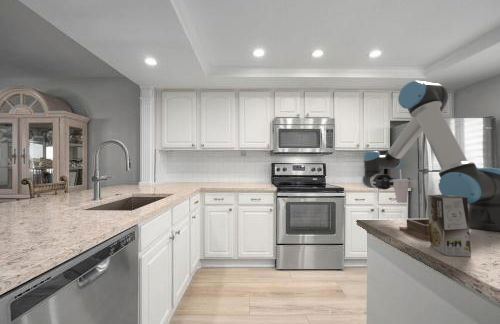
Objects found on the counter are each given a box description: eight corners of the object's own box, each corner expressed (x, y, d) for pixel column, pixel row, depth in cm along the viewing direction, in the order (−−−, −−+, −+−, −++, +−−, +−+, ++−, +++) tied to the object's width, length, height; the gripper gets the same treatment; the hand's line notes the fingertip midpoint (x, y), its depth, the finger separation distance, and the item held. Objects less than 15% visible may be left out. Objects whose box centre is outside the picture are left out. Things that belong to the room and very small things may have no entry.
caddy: (436, 228, 100) (435, 217, 100) (468, 239, 84) (468, 226, 84) (399, 229, 101) (399, 218, 101) (425, 240, 85) (424, 227, 85)
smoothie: (396, 203, 105) (394, 169, 105) (390, 201, 111) (389, 169, 112) (413, 203, 104) (411, 169, 104) (406, 201, 110) (404, 169, 111)
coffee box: (472, 257, 69) (468, 197, 69) (445, 256, 70) (442, 197, 70) (452, 246, 78) (449, 194, 78) (429, 246, 79) (426, 194, 79)
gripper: (401, 188, 125) (432, 192, 102) (361, 189, 126) (383, 193, 103) (400, 173, 125) (431, 173, 102) (361, 174, 126) (382, 175, 103)
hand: (407, 183), depth 103 cm, fingers closed on smoothie, 6 cm apart
